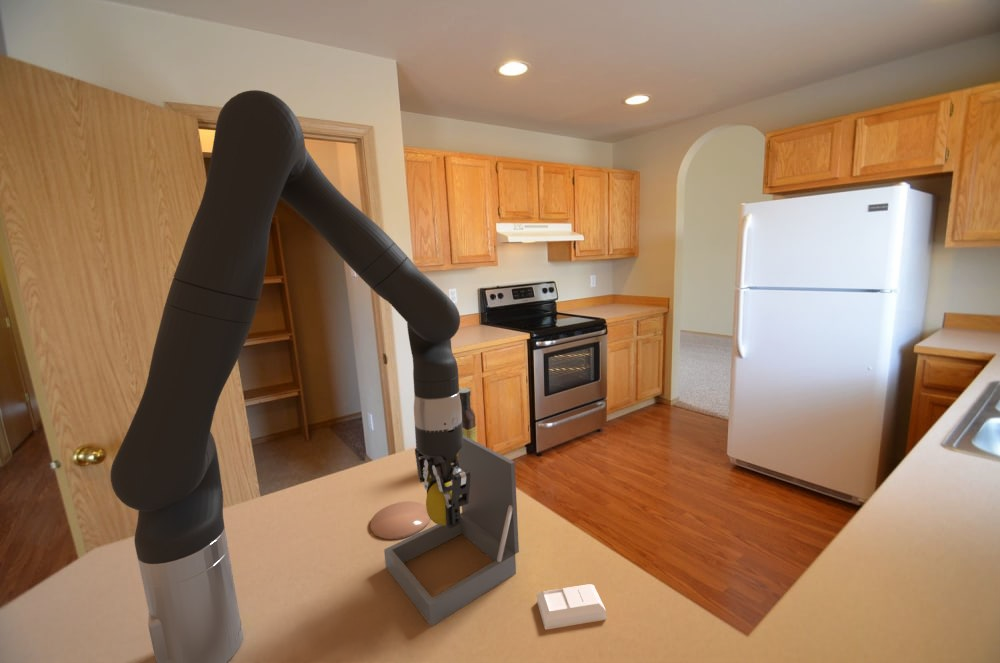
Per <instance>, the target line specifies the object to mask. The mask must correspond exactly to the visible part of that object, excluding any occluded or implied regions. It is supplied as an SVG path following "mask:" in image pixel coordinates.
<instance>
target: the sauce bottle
mask: <svg viewBox="0 0 1000 663" xmlns="http://www.w3.org/2000/svg"><path fill="white" fill-rule="evenodd" d="M459 395H460V400H461V407H462V429H463V435H464V436H466V437H468V438H470V439H472V440H473V441H475V442H477V443H478V441H477V439H478V438H477V424H476V413H475V411H474V409H473V408H472V407H471V406H472V405H471V404H472V403H471V389H470V388H468V387H459ZM457 459H458V453H457ZM458 462H459V459H458Z"/></svg>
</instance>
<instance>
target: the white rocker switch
mask: <svg viewBox="0 0 1000 663" xmlns="http://www.w3.org/2000/svg"><path fill="white" fill-rule="evenodd" d="M536 603H537V607H538V610H539V613H540V616H541V621H542V624H543V627H544V630H552V629H558V628H564V627H569V626H575V625H581V624H583V625H584V624H587V623H593V622H600V621H606V620H607V609H606V608H605V605H604V603H603V602H602V599H601V598H600V594H599V593H598V591H597V588H596V587H595V585H594V584H592V583H589V584H588V583H587V584H582V585H575V586H567V587H562V588H555V589H550V590H544V591H541V592H538V593H537V594H536Z"/></svg>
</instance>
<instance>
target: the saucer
mask: <svg viewBox="0 0 1000 663" xmlns="http://www.w3.org/2000/svg"><path fill="white" fill-rule="evenodd" d="M430 521H431V519H430V517H429V515H428V513H427V509H426V504H424V503H421V502H417V501H401V502H400V501H399V502H396V503H392V504H389V505H388V506H385V507H383V508H382V509H380V510H379V511H377V512H376V513H375V514H374V515H373V517H371V521H370V530H371V532H372V534H373V535H374V536H376V537H378V538H380V539H384V540H401V539H407V538H409V537H412V536H414V535H416V534H418V533H420V532H422V530H423V529H424V530H425V528H426V527H427V526H428V525H429V522H430ZM424 530H423V531H424Z"/></svg>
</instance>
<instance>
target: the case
mask: <svg viewBox="0 0 1000 663" xmlns="http://www.w3.org/2000/svg"><path fill="white" fill-rule="evenodd" d="M458 459H459V468H460V469H461V470H462V471H465V470H469V472H470V489H469V503H468V504H466V505H463V506H461V512H460V519H461V521H460V524H459V525H457V526H455V527H453V528H449V527H448V526H447V525H446V526H442V525H439V524H435V525H433V526H431V527H429V528H427V529H424V530H423V531H422V530H421V531H420V532H418V533H416V534H414V535H412V536H409V537H406V538H404V539H403V540H401V541H399V542H397V543H395V544H392V545H391V546H388V547H386V548H384V549H383V550H384V551H383V552H384V561H385V568H386V570H387V571H388V572H389V574H390V575H391V576H392V577H393V579H394V580H395V582H396V583H397V584H398V585H399V586H400V588H401V589H402V591H403V592H404V593H405V594H406V596H407V597H408V599H409V600H410V601H411V603H412V604H413V605H414V606H415V607H416V609H417V610H418V612H419V613H420V615H421V616H422V617H423V619H425V621H426V622H427V623H428V625H429V626H430V627H431V628H432V627H433V626H435V625H437V624H439V623H440V622H442V621H443V620H445V619H446V618H449V616H452V615H453V614H454V613H456V612H458V611H459V610H461V609H462V608H464V607H465V606H467V605H468V604H471V603H472V602H474V601H475V600H476V599H478V598H479V597H480V596H483V595H484V594H486V593H487V592H489V591H490V590H492V589H493V588H495V587H497V586H498V585H499V584H501V583H503V582H505V581H506V580H508V579H510V578H511V577H513V576H514V575H516V574H517V564H516V561H517V560H516V555H517V554H518V553H519V552H520V548H519V547H520V546H519V544H520V543H519V528H518V527H519V526H518V525H519V524H518V522H519V521H518V503H517V480H516V478H517V477H516V463H515V460H512V459H509V458H507V457H505V456H504V455H502V454H501V453H498V452H496V451H494V450H493V449H490V448H489V447H487V446H485V445H483V444H481V443H479V442H478V441H477V442H475V441H473V440H472V439H470V438H468V437H466V436H464V435H463V446H462V448H461V449H460V450H459V451H458ZM461 496H462V495H461ZM461 534H462V535H463V536H464V537H465V538H467V539H468V540H469V541H470V542H471V543H472V544H473V545H475V547H477V548H478V549H479V550H480V551H481V552H482V553H484V554H485V555H486V556H487V557H489V558H490V559H491V560H492V562H491V563H489V564H487V565H486V566H484V567H482V568H481V569H478V570H477V571H475V572H473V573H472V574H470V575H469V576H467V577H465V578H464V579H462V580H460V581H458V582H457V583H455V584H454V585H451V586H450V587H448V588H446V589H444V590H443V591H441V592H440V593H438V594H436V595H435V596H433V597H432V595H430V593H429V592H428V591H427V589H425V588H424V586H423V585H422V584H421V582H420V581H419V580H418V579H417V578H416V577H415V575H414V574H413V573H412V571H410V570H409V568H408V566H406V565H405V563H407V562H408V561H411V560H413V559H414V558H417V557H418V556H420V555H422V554H424V553H426V552H428V551H430V550H432V549H435V548H436V547H438V546H440V545H442V544H444V543H446V542H448V541H450V540H452V539H454V538H456V537H457V536H460V535H461Z"/></svg>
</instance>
